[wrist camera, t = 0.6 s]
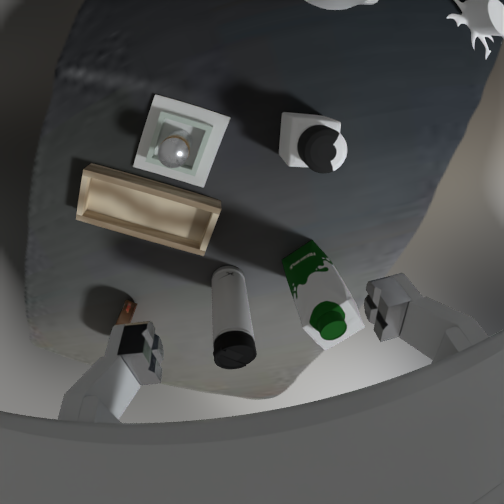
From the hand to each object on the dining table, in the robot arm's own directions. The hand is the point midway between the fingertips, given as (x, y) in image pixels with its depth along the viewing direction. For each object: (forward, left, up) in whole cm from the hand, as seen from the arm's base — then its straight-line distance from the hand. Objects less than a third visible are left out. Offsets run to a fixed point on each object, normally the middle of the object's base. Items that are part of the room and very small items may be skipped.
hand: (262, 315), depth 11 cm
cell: (+3, -6, -39) cm, 39 cm away
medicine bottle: (-4, +11, -39) cm, 41 cm away
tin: (+42, -8, -40) cm, 59 cm away
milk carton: (+17, +23, -39) cm, 49 cm away
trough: (+15, -8, -39) cm, 43 cm away
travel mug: (+25, +10, -39) cm, 48 cm away
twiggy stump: (-48, +35, -40) cm, 71 cm away
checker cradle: (+3, -6, -39) cm, 40 cm away
